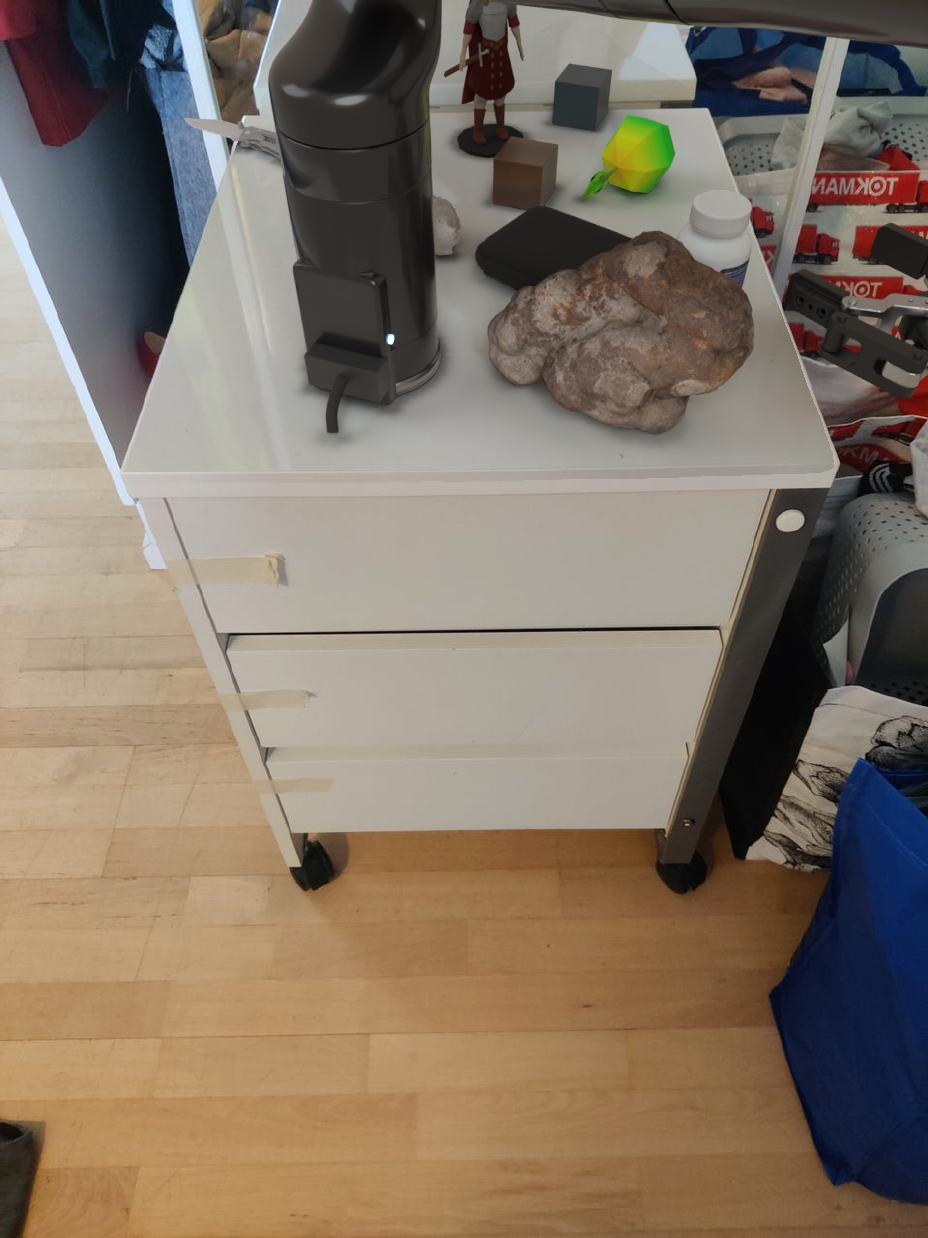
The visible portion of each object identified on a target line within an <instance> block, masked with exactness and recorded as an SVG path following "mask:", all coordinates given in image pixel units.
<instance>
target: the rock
mask: <svg viewBox="0 0 928 1238" xmlns="http://www.w3.org/2000/svg"><path fill="white" fill-rule="evenodd" d="M632 238H633V239H631V240H630V241H628V242H626V243H623V244H620V245H617V246H616V247H615V248H613V249H612V250H611V251H610V252H603V253H601V254H599V255H596V256H594V257H592V258H591V259H589V260H588V261H586V262H585V263H584V264H583V265H581V266H580V267H579V268H577V269H575V270H571V269H561V270H559V271H558V272H556V273H554V274H551V275H549V276H548V277H547V278H545V279H544V280H542V281H541V282H539V283H538V284H537V285H536V286H526V287H522V288H521V289H517V291H515V293H514V294H513V295H512V297H511V298H510V301H509V302H508V303H507V305H505V307H504V308H503V309H502V310H501V311H499V312H498V313H497V314H495V315H494V316H493V318H492V319H491V320H490V321H489V323H488V325H487V331H486V335H487V338H488V348H489V349H488V359H489V361H490V363H491V364H492V365H493V367H495V369H497V371H499V373H500V374H502V375H503V377H505V378H506V380H507V381H508V382H509V383H511V384H513V385H515V386H525V385H532V384H535V383H536V382H538V381H541V380H542V379H543V381H544V383H545V385H546V388H547V390H548V392H549V393H550V396H551V397H552V398H553V400H554V401H555V402H556V403H557V404H558V405H559V406H561V407H562V408H563V409H565V410H566V411H570V412H572V413H573V412H574V413H581V412H582V413H583V414H584V415H587V416H588V417H591V418H592V419H595V420H596V421H598V422H600V423H602V424H603V425H606V426H608V427H614V428H623V429H626V430H632V429H638V430H641V431H644V432H647V433H650V434H652V435H653V434H654V435H655V434H656V435H660V434H663V433H664V432H667V431H669V430H670V429H672V428H674V427H675V426H676V425H677V424H678V423H679V422H680V421H682V420H683V419H684V417H685V413H686V411H687V406H688V402H689V400H690V397H691V396H693V395H696V396H698V395H705V394H711V393H712V392H715V391H717V390H718V389H719V388H720V387H722V386H723V385H725V384H726V383H727V382H728V381H729V380H730V379H731V378H732V377H733V376H734V375H735V373H737V371H738V370H739V369H741V368H742V367H743V365H744V364H745V362H746V361H747V359H748V358H749V357H750V356H751V354H752V352H753V351H754V347H755V346H754V345H755V342H754V339H755V338H754V337H755V328H754V326H755V325H754V324H755V322H754V317H753V306H752V303H751V301H750V298H749V296H748V294H747V292H746V291H745V290H744V289H743V287H742V288H741V287H740V286H739V285H738V284H737V283H736V281H735V280H734V279H733V278H731V277H729V276H727V275H725V274H723V273H720V272H718V271H716V270H714V269H713V268H712V267H709V266H707V265H705V264H703V263H700V262H698V261H696V260H695V259H694V258H693V256H692V255H691V253H690V251H689V250H688V249H687V248H686V247H685V246H684V245H683V243H682V242H680V241H678V240H676V237H675V238H674V237H673V236H672V235H670V234H668V233H666V232H664V231H662V230H651V231H645V230H644V231H642V232H641V233H640V234H638V235H636V236H634V237H632Z"/></svg>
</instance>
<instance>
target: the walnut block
mask: <svg viewBox="0 0 928 1238" xmlns="http://www.w3.org/2000/svg"><path fill="white" fill-rule="evenodd" d="M558 157H559V144H558V143H552V142H547V141H541V140H536V139H529V138H525V137H524V138H518V137H512V136H511V137H510V138H509V139H508V141H507V142H506V143H505V144H504V146H503V147H502V148H501V149H500V151H499V152H498V153H497V154H496V156H495V157H492V204H495V205H501V206H505V207H506V206H507V207H512V208H517V209H522V210H526V211H527V210H529V209H530V208H533V207H536V206H545V205H546V203H547V202H548V200H549V198H551V196H552V194H553V193H554V191H555V190H556V185H557V172H558V171H557V170H558V159H559V158H558Z"/></svg>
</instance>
